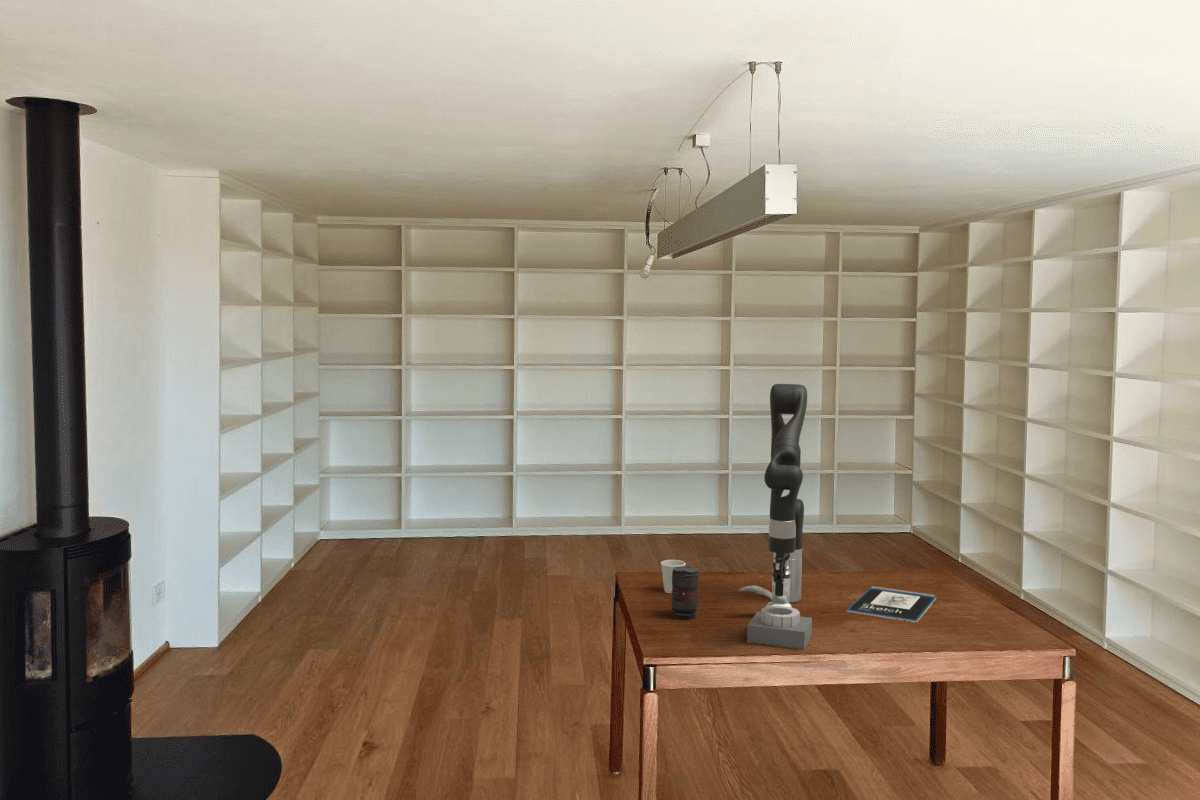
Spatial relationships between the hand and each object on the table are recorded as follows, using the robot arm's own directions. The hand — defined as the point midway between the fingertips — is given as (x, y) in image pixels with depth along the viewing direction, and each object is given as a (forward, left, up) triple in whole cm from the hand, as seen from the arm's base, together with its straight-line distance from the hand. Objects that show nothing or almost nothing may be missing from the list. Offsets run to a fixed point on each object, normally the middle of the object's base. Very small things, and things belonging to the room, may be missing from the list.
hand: (780, 593), depth 278 cm
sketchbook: (-47, +28, -14) cm, 57 cm away
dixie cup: (-35, -42, -13) cm, 56 cm away
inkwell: (-18, -8, -14) cm, 24 cm away
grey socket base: (0, 0, -13) cm, 13 cm away
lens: (0, 0, -2) cm, 2 cm away
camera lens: (-10, -31, -13) cm, 35 cm away
